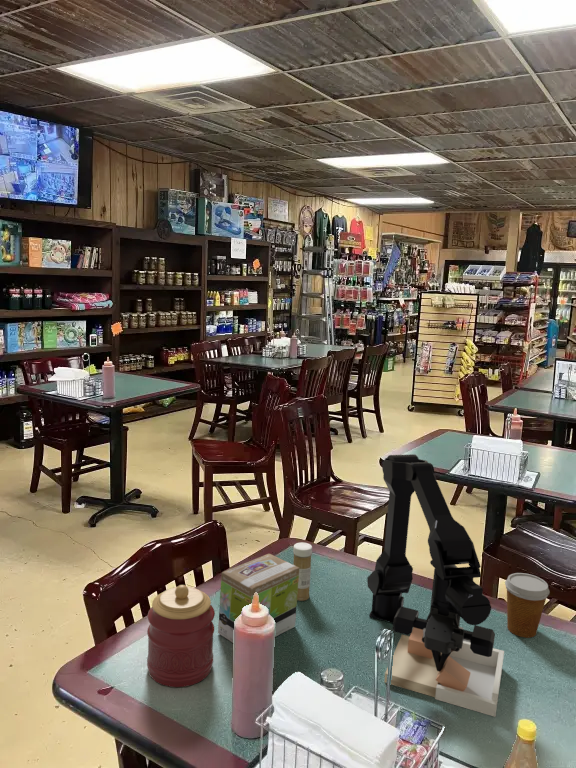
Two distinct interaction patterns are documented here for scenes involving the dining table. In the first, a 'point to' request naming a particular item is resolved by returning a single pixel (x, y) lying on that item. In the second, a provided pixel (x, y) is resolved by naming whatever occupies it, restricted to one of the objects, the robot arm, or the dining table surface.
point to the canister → (180, 637)
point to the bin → (476, 681)
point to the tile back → (418, 644)
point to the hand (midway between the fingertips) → (439, 670)
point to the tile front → (453, 675)
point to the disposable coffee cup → (525, 603)
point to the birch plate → (413, 670)
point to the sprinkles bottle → (303, 568)
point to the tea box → (259, 592)
